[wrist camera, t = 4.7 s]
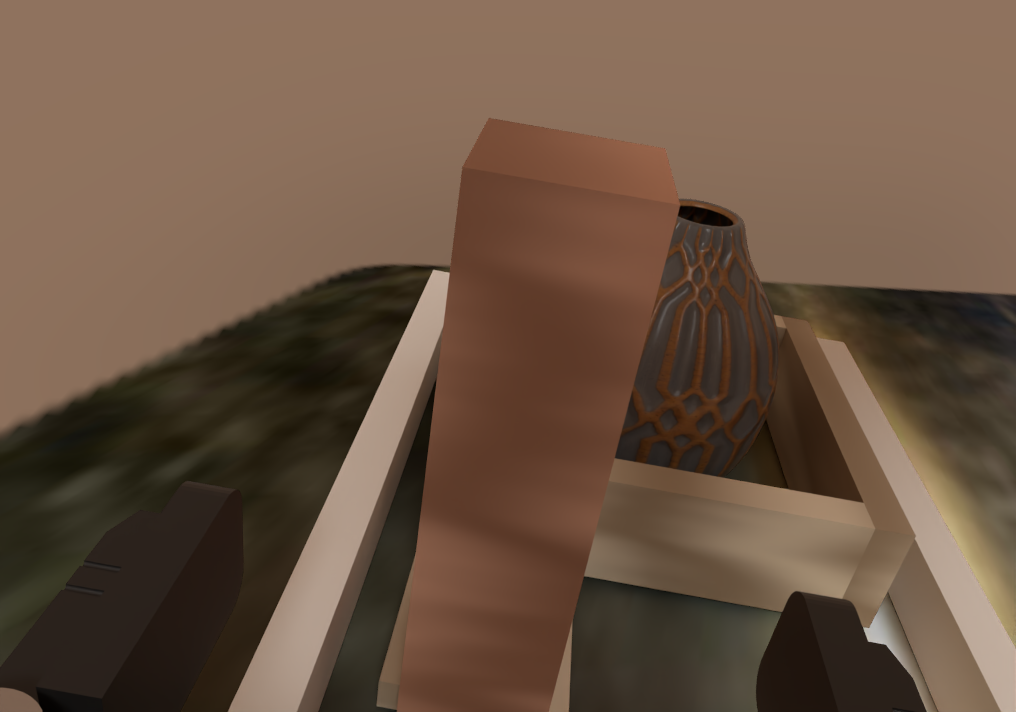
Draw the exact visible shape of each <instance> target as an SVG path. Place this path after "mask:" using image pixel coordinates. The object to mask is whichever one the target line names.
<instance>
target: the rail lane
mask: <svg viewBox="0 0 1016 712" xmlns="http://www.w3.org/2000/svg"><path fill="white" fill-rule="evenodd" d="M449 274H450V273H447V272H441V271H436V270H433V272H432V274H431V276H430V278H429V281H428V283H427V285H426V287H425V289H424V291H423V294H422V296H421V298H420V300H419V302H418V304H417V306H416V309H415V311H414V313H413V315H412V317H411V319H410V321H409V324H408V326H407V328H406V330H405V332H404V334H403V336H402V339H401V341H400V343H399V345H398V347H397V349H396V352H395V354H394V356H393V358H392V360H391V362H390V364H389V367H388V369H387V371H386V373H385V375H384V377H383V379H382V382H381V384H380V386H379V388H378V390H377V392H376V394H375V397H374V399H373V401H372V403H371V405H370V407H369V410H368V412H367V414H366V416H365V418H364V420H363V422H362V425H361V427H360V429H359V431H358V433H357V435H356V437H355V440H354V442H353V444H352V446H351V448H350V450H349V453H348V455H347V457H346V459H345V461H344V463H343V465H342V468H341V470H340V472H339V474H338V476H337V478H336V480H335V483H334V485H333V487H332V489H331V491H330V493H329V495H328V498H327V500H326V502H325V504H324V506H323V508H322V511H321V513H320V515H319V517H318V519H317V521H316V523H315V526H314V528H313V530H312V532H311V534H310V536H309V538H308V541H307V543H306V545H305V547H304V549H303V551H302V554H301V556H300V558H299V560H298V562H297V564H296V566H295V569H294V571H293V573H292V575H291V577H290V579H289V581H288V584H287V586H286V588H285V590H284V592H283V594H282V596H281V599H280V601H279V603H278V605H277V607H276V609H275V612H274V614H273V616H272V618H271V620H270V622H269V624H268V627H267V629H266V631H265V633H264V635H263V637H262V639H261V642H260V644H259V646H258V648H257V650H256V652H255V655H254V657H253V659H252V661H251V663H250V665H249V667H248V670H247V672H246V674H245V676H244V678H243V680H242V682H241V685H240V687H239V689H238V691H237V693H236V695H235V697H234V700H233V702H232V704H231V706H230V708H229V710H228V712H318V711H319V708H320V705H321V703H322V700H323V697H324V694H325V691H326V688H327V686H328V683H329V680H330V677H331V674H332V671H333V669H334V666H335V663H336V660H337V657H338V654H339V652H340V649H341V646H342V643H343V640H344V637H345V635H346V632H347V629H348V626H349V623H350V620H351V618H352V615H353V612H354V609H355V606H356V603H357V601H358V598H359V595H360V592H361V589H362V586H363V583H364V581H365V578H366V575H367V572H368V569H369V566H370V564H371V561H372V558H373V555H374V552H375V549H376V547H377V544H378V541H379V538H380V535H381V532H382V530H383V527H384V524H385V521H386V518H387V515H388V513H389V510H390V507H391V504H392V501H393V498H394V496H395V493H396V490H397V487H398V484H399V481H400V479H401V476H402V473H403V470H404V467H405V464H406V462H407V459H408V456H409V453H410V450H411V447H412V445H413V442H414V439H415V436H416V433H417V430H418V428H419V425H420V422H421V419H422V416H423V413H424V411H425V408H426V405H427V402H428V399H429V396H430V394H431V391H432V388H433V385H434V382H435V379H436V377H437V374H438V365H439V357H440V349H441V341H442V332H443V324H444V316H445V308H446V299H447V291H448V283H449ZM817 340H818V342H819V344H820V346H821V348H822V350H823V352H824V354H825V356H826V358H827V360H828V362H829V364H830V366H831V368H832V370H833V372H834V374H835V376H836V378H837V380H838V382H839V384H840V386H841V388H842V390H843V392H844V394H845V396H846V398H847V400H848V402H849V404H850V406H851V408H852V410H853V412H854V414H855V416H856V418H857V420H858V422H859V424H860V426H861V428H862V430H863V432H864V434H865V436H866V438H867V440H868V442H869V444H870V446H871V448H872V450H873V452H874V454H875V456H876V458H877V460H878V462H879V464H880V466H881V467H882V469H883V471H884V473H885V475H886V477H887V479H888V481H889V483H890V485H891V487H892V489H893V491H894V493H895V495H896V497H897V499H898V501H899V503H900V505H901V507H902V509H903V511H904V513H905V515H906V517H907V519H908V521H909V523H910V525H911V527H912V529H913V531H914V533H915V535H916V537H915V539H914V541H913V543H912V545H911V547H910V549H909V551H908V553H907V555H906V557H905V559H904V560H903V562H902V564H901V566H900V568H899V570H898V572H897V574H896V576H895V578H894V580H893V582H892V584H891V586H890V588H889V590H888V593H889V595H890V598H891V600H892V603H893V605H894V607H895V610H896V612H897V615H898V617H899V619H900V622H901V624H902V626H903V629H904V631H905V634H906V636H907V638H908V641H909V643H910V645H911V648H912V650H913V653H914V655H915V657H916V660H917V662H918V665H919V667H920V669H921V672H922V674H923V676H924V679H925V681H926V684H927V686H928V688H929V691H930V693H931V695H932V698H933V700H934V703H935V705H936V707H937V710H938V712H1016V648H1015V646H1014V645H1013V643H1012V641H1011V639H1010V638H1009V636H1008V634H1007V632H1006V630H1005V629H1004V627H1003V625H1002V623H1001V622H1000V620H999V618H998V616H997V614H996V613H995V611H994V609H993V607H992V605H991V604H990V602H989V600H988V598H987V597H986V595H985V593H984V591H983V589H982V588H981V586H980V584H979V582H978V580H977V579H976V577H975V575H974V573H973V572H972V570H971V568H970V566H969V564H968V563H967V561H966V559H965V557H964V555H963V554H962V552H961V550H960V548H959V547H958V545H957V543H956V541H955V539H954V538H953V536H952V534H951V532H950V531H949V529H948V527H947V525H946V523H945V522H944V520H943V518H942V516H941V514H940V513H939V511H938V509H937V507H936V506H935V504H934V502H933V500H932V498H931V497H930V495H929V493H928V491H927V489H926V488H925V486H924V484H923V482H922V481H921V479H920V477H919V475H918V473H917V472H916V470H915V468H914V466H913V465H912V463H911V461H910V459H909V457H908V456H907V454H906V452H905V450H904V448H903V447H902V445H901V443H900V441H899V440H898V438H897V436H896V434H895V432H894V431H893V429H892V427H891V425H890V423H889V422H888V420H887V418H886V416H885V415H884V413H883V411H882V409H881V407H880V406H879V404H878V402H877V400H876V398H875V397H874V395H873V393H872V391H871V390H870V388H869V386H868V384H867V382H866V381H865V379H864V377H863V375H862V374H861V372H860V370H859V368H858V366H857V365H856V363H855V361H854V359H853V357H852V356H851V354H850V352H849V350H848V349H847V347H846V345H845V343H844V342H839V341H833V340H828V339H822V338H817Z"/></svg>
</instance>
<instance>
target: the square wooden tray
mask: <svg viewBox="0 0 1016 712" xmlns="http://www.w3.org/2000/svg"><path fill="white" fill-rule="evenodd" d="M679 208H680V202H679V198H678V195H677V191H676V187H675V183H674V180H673V176H672V172H671V168H670V165H669V161H668V157H667V153H666V150H665V148H659V147H654V146H648V145H642V144H636V143H630V142H624V141H619V140H613V139H607V138H602V137H596V136H589V135H584V134H578V133H572V132H567V131H561V130H554V129H549V128H544V127H537V126H532V125H526V124H520V123H514V122H509V121H503V120H497V119H491V118H489V119H488V121H487V122H486V125H485V126H484V128H483V130H482V132H481V134H480V135H479V137H478V139H477V141H476V143H475V145H474V147H473V149H472V150H471V152H470V154H469V156H468V158H467V160H466V162H465V164H464V165H463V167H462V175H461V183H460V192H459V200H458V208H457V217H456V225H455V233H454V242H453V250H452V258H451V266H450V274H449V283H448V291H447V299H446V308H445V316H444V324H443V332H442V341H441V349H440V357H439V365H438V374H437V382H436V390H435V399H434V407H433V415H432V423H431V432H430V440H429V448H428V456H427V465H426V473H425V481H424V490H423V498H422V506H421V514H420V523H419V531H418V539H417V547H416V554H415V558H414V561H413V565H412V568H411V572H410V575H409V578H408V582H407V585H406V589H405V592H404V596H403V599H402V603H401V606H400V610H399V613H398V617H397V620H396V624H395V627H394V631H393V634H392V637H391V641H390V644H389V648H388V651H387V655H386V658H385V662H384V665H383V669H382V672H381V676H380V679H379V686H378V695H377V705H376V706H378V707H384V708H389V709H395V710H397V712H569V694H570V669H571V645H572V620H573V617H574V613H575V609H576V605H577V601H578V597H579V593H580V590H581V586H582V582H583V578H584V576H587V577H592V578H598V579H603V580H609V581H614V582H620V583H625V584H631V585H636V586H642V587H647V588H653V589H658V590H664V591H669V592H675V593H680V594H686V595H691V596H697V597H702V598H708V599H713V600H719V601H724V602H730V603H735V604H741V605H746V606H752V607H757V608H763V609H768V610H774V611H779V612H783V609H784V607H785V605H786V602H787V600H788V598H789V597H790V595H791V594H792V593H793V592H795V591H800V592H806V593H812V594H817V595H823V596H829V597H834V598H840V599H846V600H849V601H851V602H852V603H853V605H854V606H855V608H856V610H857V613H858V616H859V619H860V621H861V624H862V627H867V628H869V627H870V625H871V623H872V621H873V619H874V617H875V615H876V613H877V611H878V609H879V607H880V605H881V603H882V601H883V600H884V598H885V596H886V594H887V592H888V590H889V588H890V586H891V584H892V582H893V580H894V578H895V576H896V574H897V572H898V570H899V568H900V566H901V564H902V562H903V560H904V559H905V557H906V555H907V553H908V551H909V549H910V547H911V545H912V543H913V541H914V539H915V537H916V535H915V533H914V531H913V529H912V527H911V525H910V523H909V521H908V519H907V517H906V515H905V513H904V511H903V509H902V507H901V505H900V503H899V501H898V499H897V497H896V495H895V493H894V491H893V489H892V487H891V485H890V483H889V481H888V479H887V477H886V475H885V473H884V471H883V469H882V467H881V466H880V464H879V462H878V460H877V458H876V456H875V454H874V452H873V450H872V448H871V446H870V444H869V442H868V440H867V438H866V436H865V434H864V432H863V430H862V428H861V426H860V424H859V422H858V420H857V418H856V416H855V414H854V412H853V410H852V408H851V406H850V404H849V402H848V400H847V398H846V396H845V394H844V392H843V390H842V388H841V386H840V384H839V382H838V380H837V378H836V376H835V374H834V372H833V370H832V368H831V366H830V364H829V362H828V360H827V358H826V356H825V354H824V352H823V350H822V348H821V346H820V344H819V342H818V340H817V338H816V336H815V334H814V332H813V330H812V328H811V326H810V324H809V322H808V321H806V320H800V319H794V318H789V317H783V316H777V315H774V318H775V322H776V326H777V332H778V342H779V368H778V378H777V384H776V390H775V394H774V397H773V400H772V404H771V407H770V410H769V412H768V415H767V417H766V420H767V423H768V426H769V430H770V433H771V436H772V439H773V442H774V445H775V448H776V451H777V454H778V457H779V460H780V464H781V467H782V470H783V473H784V476H785V479H786V482H787V485H788V488H789V489H783V488H778V487H772V486H766V485H761V484H755V483H750V482H744V481H738V480H733V479H727V478H722V477H716V476H711V475H705V474H699V473H694V472H688V471H683V470H677V469H672V468H666V467H660V466H655V465H649V464H644V463H638V462H632V461H627V460H621V459H616V458H615V455H616V451H617V447H618V443H619V439H620V435H621V432H622V428H623V424H624V420H625V416H626V412H627V408H628V405H629V401H630V397H631V393H632V389H633V385H634V381H635V378H636V374H637V370H638V366H639V362H640V358H641V354H642V351H643V347H644V343H645V339H646V335H647V331H648V327H649V324H650V320H651V316H652V312H653V308H654V304H655V300H656V297H657V293H658V289H659V285H660V281H661V277H662V274H663V270H664V266H665V262H666V258H667V254H668V250H669V247H670V243H671V239H672V235H673V231H674V227H675V223H676V220H677V216H678V212H679Z"/></svg>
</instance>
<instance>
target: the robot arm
mask: <svg viewBox="0 0 1016 712" xmlns="http://www.w3.org/2000/svg"><path fill="white" fill-rule="evenodd" d="M242 577H243V517H242V496H241V493H240V491H239V490H236V489H230V488H225V487H219V486H213V485H208V484H202V483H197V482H191V481H186V482H184V483H183V484H182V485H181V486H180V487H179V488H178V490H177V491H176V492H175V494H174V495H173V497H172V498H171V499H170V501H169V502H168V503H167V505H166V506H165V508H164V509H163V510H162V512H161V513H154V512H148V511H143V510H140V511H138V512H137V513H135V514H134V515H132V516H130V517H129V518H127V519H126V520H124V521H123V522H121V523H120V524H118V525H117V526H115V527H114V528H112V529H111V530H109V531H107V532H106V534H105V535H104V536H103V537H102V539H101V540H100V541H99V542H98V544H97V545H96V546H95V548H94V549H93V550H92V551H91V553H90V554H89V555H88V556H87V558H86V559H85V560H84V565H83V566H80V567H79V568H78V569H77V570H76V572H75V573H74V574H73V576H72V577H71V578H70V579H69V581H68V582H67V583H66V587H65V589H64V590H61V591H60V592H59V593H58V595H57V596H56V597H55V598H54V600H53V601H52V602H51V604H50V605H49V606H48V607H47V609H46V610H45V611H44V613H43V614H42V615H41V616H40V618H39V619H38V620H37V621H36V623H35V624H34V625H33V627H32V628H31V629H30V630H29V632H28V633H27V634H26V635H25V637H24V638H23V639H22V641H21V642H20V643H19V644H18V646H17V647H16V648H15V649H14V651H13V652H12V653H11V655H10V656H9V657H8V658H7V660H6V661H5V662H4V663H3V665H2V666H1V667H0V712H180V711H181V709H182V707H183V705H184V703H185V701H186V699H187V698H188V696H189V694H190V692H191V690H192V688H193V686H194V684H195V682H196V680H197V678H198V676H199V674H200V673H201V671H202V669H203V667H204V665H205V663H206V661H207V659H208V657H209V655H210V653H211V651H212V649H213V647H214V646H215V644H216V642H217V640H218V638H219V636H220V634H221V632H222V630H223V628H224V626H225V624H226V622H227V620H228V619H229V617H230V615H231V613H232V611H233V609H234V606H235V604H236V601H237V598H238V595H239V591H240V587H241V583H242ZM756 700H757V708H758V712H926V709H925V707H924V704H923V702H922V699H921V697H920V695H919V692H918V690H917V687H916V685H915V682H914V680H913V678H912V677H911V675H910V674H909V673H908V672H907V670H906V669H905V668H904V667H903V666H902V664H901V663H900V662H899V661H898V659H897V658H896V657H895V656H894V655H893V653H892V652H891V651H890V650H889V648H888V647H887V646H886V645H884V644H878V643H873V642H868V640H867V638H866V635H865V632H864V629H863V627H862V624H861V621H860V619H859V616H858V613H857V610H856V608H855V606H854V605H853V603H852V602H851V601H849V600H846V599H840V598H834V597H829V596H823V595H817V594H812V593H806V592H800V591H795V592H793V593H792V594H791V595H790V597H789V598H788V600H787V602H786V605H785V607H784V609H783V612H782V614H781V616H780V619H779V621H778V623H777V626H776V628H775V630H774V632H773V635H772V637H771V639H770V642H769V644H768V646H767V649H766V651H765V653H764V656H763V658H762V660H761V663H760V666H759V671H758V676H757V685H756Z"/></svg>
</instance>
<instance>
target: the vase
mask: <svg viewBox="0 0 1016 712" xmlns="http://www.w3.org/2000/svg"><path fill="white" fill-rule="evenodd" d="M679 202H680V208H679V212H678V216H677V220H676V223H675V227H674V231H673V235H672V239H671V243H670V247H669V250H668V254H667V258H666V262H665V266H664V270H663V274H662V277H661V281H660V285H659V289H658V293H657V297H656V300H655V304H654V308H653V312H652V316H651V320H650V324H649V327H648V331H647V335H646V339H645V343H644V347H643V351H642V354H641V358H640V362H639V366H638V370H637V374H636V378H635V381H634V385H633V389H632V393H631V397H630V401H629V405H628V408H627V412H626V416H625V420H624V424H623V428H622V432H621V435H620V439H619V443H618V447H617V451H616V455H615V458H616V459H621V460H627V461H632V462H638V463H644V464H649V465H655V466H660V467H666V468H672V469H677V470H683V471H688V472H694V473H699V474H705V475H711V476H716V477H722V478H724V477H725V476H726V475H727V474H728V473H729V472H730V471H731V470H733V469H734V468H735V467H736V465H737V464H738V463H739V462H740V461H741V460H742V458H743V457H744V456H745V455H746V453H747V452H748V451H749V449H750V448H751V446H752V445H753V443H754V442H755V440H756V439H757V437H758V435H759V433H760V431H761V429H762V427H763V424H764V422H765V420H766V417H767V415H768V412H769V410H770V407H771V404H772V400H773V397H774V394H775V390H776V384H777V378H778V368H779V342H778V332H777V326H776V322H775V318H774V314H773V312H772V309H771V306H770V304H769V301H768V299H767V296H766V294H765V292H764V289H763V287H762V285H761V282H760V280H759V278H758V275H757V273H756V271H755V269H754V267H753V264H752V262H751V259H750V255H749V251H748V246H747V240H746V230H745V224H744V221H743V220H742V219H741V218H740V217H739V216H738V215H737V214H736V213H734V212H732V211H730V210H728V209H726V208H723V207H721V206H718V205H715V204H711V203H708V202H704V201H698V200H692V199H679Z"/></svg>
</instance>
